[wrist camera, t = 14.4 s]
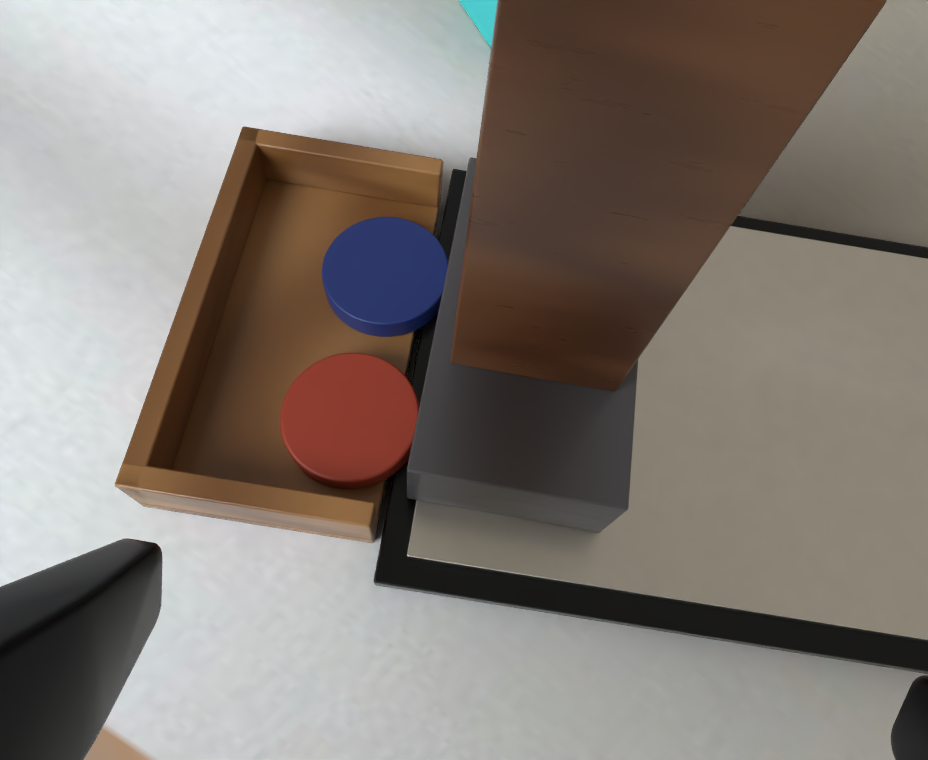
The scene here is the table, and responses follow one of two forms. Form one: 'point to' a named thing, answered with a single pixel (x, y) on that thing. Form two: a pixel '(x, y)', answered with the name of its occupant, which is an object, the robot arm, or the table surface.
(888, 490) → the whiteboard
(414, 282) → the disc
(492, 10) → the chart
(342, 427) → the disc
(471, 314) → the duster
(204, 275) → the tray
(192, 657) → the table surface
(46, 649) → the robot arm
